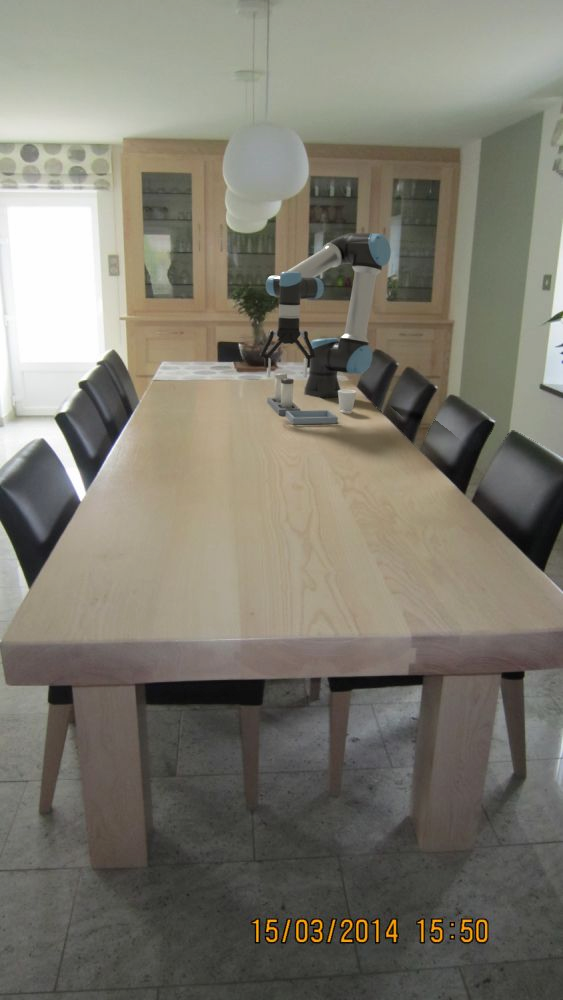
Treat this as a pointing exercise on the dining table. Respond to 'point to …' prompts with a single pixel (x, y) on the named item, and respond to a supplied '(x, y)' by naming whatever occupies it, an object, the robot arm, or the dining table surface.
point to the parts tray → (311, 417)
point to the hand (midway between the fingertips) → (286, 376)
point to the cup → (346, 400)
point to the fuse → (278, 386)
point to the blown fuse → (287, 393)
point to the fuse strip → (277, 407)
